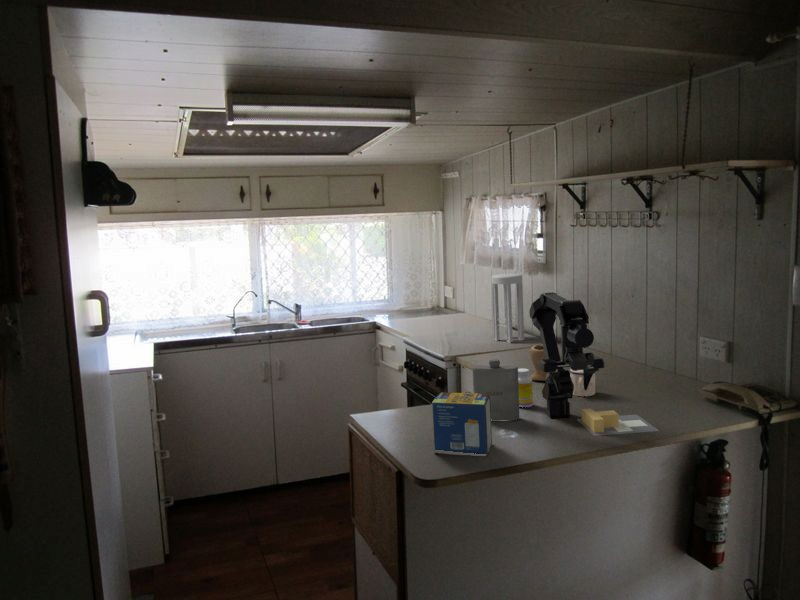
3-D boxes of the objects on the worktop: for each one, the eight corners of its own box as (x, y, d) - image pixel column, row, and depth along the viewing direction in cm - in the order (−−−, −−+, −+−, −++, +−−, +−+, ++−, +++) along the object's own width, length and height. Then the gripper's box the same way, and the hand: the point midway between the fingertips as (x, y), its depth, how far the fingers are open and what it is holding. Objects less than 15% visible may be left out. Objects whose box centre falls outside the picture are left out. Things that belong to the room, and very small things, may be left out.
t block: (594, 432, 191) (594, 419, 190) (581, 421, 202) (581, 409, 201) (623, 430, 191) (623, 417, 191) (609, 419, 202) (609, 407, 201)
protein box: (441, 441, 192) (439, 391, 190) (492, 444, 187) (490, 393, 185) (433, 454, 182) (431, 402, 180) (487, 457, 177) (484, 403, 175)
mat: (593, 436, 188) (593, 435, 188) (576, 419, 204) (576, 418, 204) (659, 431, 189) (659, 430, 189) (636, 415, 205) (636, 414, 205)
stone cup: (526, 383, 251) (525, 346, 249) (533, 375, 261) (532, 340, 259) (565, 385, 244) (564, 347, 242) (571, 378, 255) (570, 341, 253)
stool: (507, 336, 347) (505, 273, 342) (529, 339, 335) (527, 274, 330) (488, 341, 338) (485, 275, 333) (510, 344, 325) (507, 277, 321)
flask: (472, 420, 209) (470, 361, 207) (475, 415, 215) (473, 357, 212) (518, 422, 205) (516, 362, 202) (520, 416, 210) (518, 358, 208)
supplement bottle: (536, 406, 220) (535, 370, 218) (519, 409, 218) (518, 373, 217) (527, 401, 226) (526, 366, 225) (510, 404, 225) (509, 369, 223)
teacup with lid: (572, 389, 239) (571, 359, 237) (597, 390, 235) (596, 360, 234) (567, 398, 228) (566, 366, 226) (593, 400, 224) (593, 367, 223)
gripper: (549, 348, 184) (550, 400, 186) (611, 344, 185) (612, 396, 187) (538, 341, 195) (539, 390, 197) (596, 337, 196) (597, 386, 198)
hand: (572, 391), depth 194 cm, fingers open, 8 cm apart
